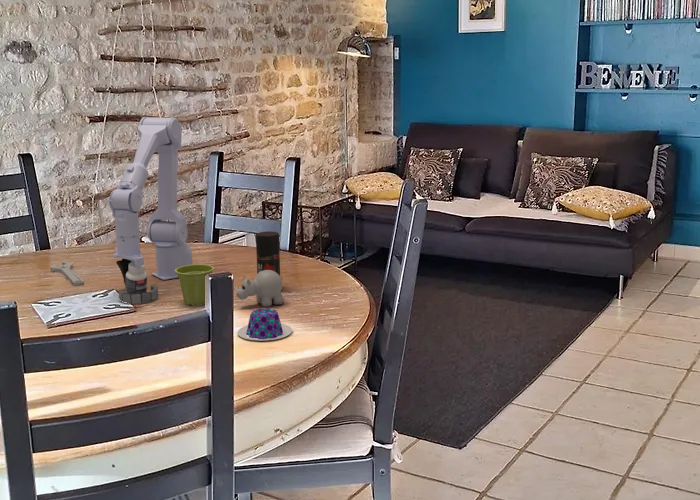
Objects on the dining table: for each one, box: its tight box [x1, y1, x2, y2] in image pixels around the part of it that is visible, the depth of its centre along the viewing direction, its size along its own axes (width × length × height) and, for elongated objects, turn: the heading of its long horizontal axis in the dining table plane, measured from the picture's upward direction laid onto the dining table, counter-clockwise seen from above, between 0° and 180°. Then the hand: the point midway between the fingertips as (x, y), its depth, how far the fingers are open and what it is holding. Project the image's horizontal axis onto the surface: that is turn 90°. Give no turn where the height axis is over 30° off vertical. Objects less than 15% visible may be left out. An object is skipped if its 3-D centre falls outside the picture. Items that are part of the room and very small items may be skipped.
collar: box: [118, 284, 160, 305], centre depth 200 cm, size 10×6×2 cm, turn 127°
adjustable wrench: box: [50, 261, 85, 287], centre depth 224 cm, size 25×6×2 cm, turn 27°
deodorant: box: [255, 230, 281, 277], centre depth 206 cm, size 6×6×15 cm
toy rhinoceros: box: [234, 270, 285, 308], centre depth 194 cm, size 7×12×8 cm, turn 116°
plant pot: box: [175, 263, 215, 306], centre depth 197 cm, size 9×9×9 cm
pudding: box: [237, 307, 293, 342], centre depth 174 cm, size 12×12×5 cm
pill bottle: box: [124, 262, 148, 293], centre depth 201 cm, size 5×5×9 cm
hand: (130, 287), depth 204 cm, fingers closed, pressing on pill bottle
